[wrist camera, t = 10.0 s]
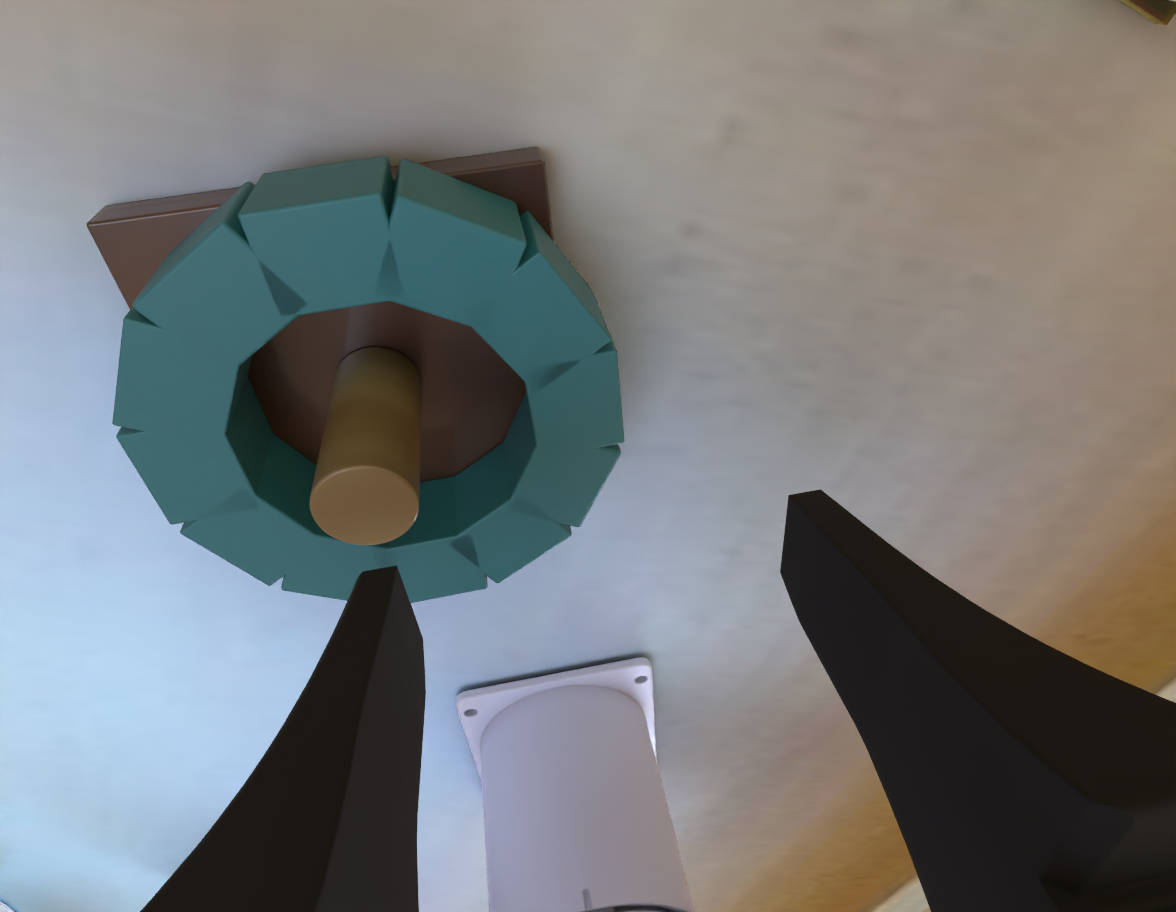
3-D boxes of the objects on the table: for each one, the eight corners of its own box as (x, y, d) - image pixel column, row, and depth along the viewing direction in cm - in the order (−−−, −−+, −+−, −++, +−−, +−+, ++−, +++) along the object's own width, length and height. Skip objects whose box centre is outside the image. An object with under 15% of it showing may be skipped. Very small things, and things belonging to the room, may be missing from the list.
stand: (577, 469, 24) (614, 619, 19) (261, 524, 23) (215, 694, 18) (538, 146, 17) (579, 242, 13) (103, 204, 17) (-33, 333, 12)
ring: (616, 502, 23) (634, 560, 21) (256, 568, 22) (239, 636, 20) (580, 125, 16) (600, 159, 14) (56, 203, 15) (-1, 250, 13)
